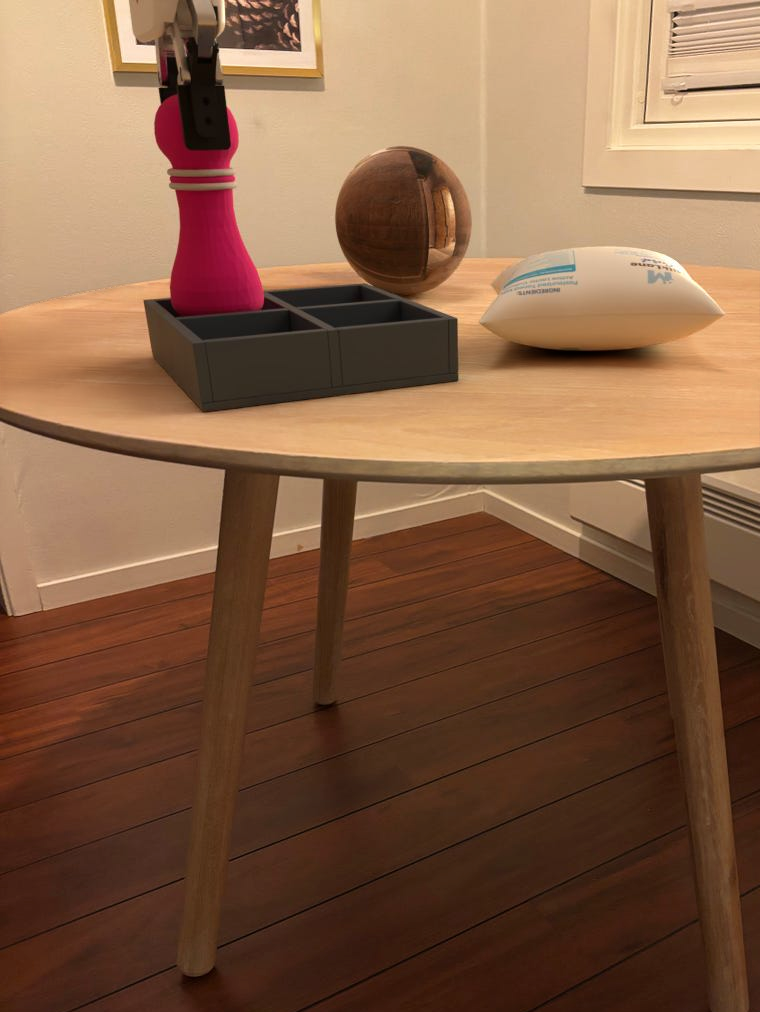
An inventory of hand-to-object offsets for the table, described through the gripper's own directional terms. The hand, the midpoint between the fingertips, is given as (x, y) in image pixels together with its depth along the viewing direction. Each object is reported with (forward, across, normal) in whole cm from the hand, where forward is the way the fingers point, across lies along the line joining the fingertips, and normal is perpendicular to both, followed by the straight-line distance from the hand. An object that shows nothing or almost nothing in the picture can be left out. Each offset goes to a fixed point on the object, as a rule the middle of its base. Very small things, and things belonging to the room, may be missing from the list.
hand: (197, 146), depth 70 cm
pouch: (+16, +8, +31) cm, 35 cm away
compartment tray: (+16, +5, +5) cm, 17 cm away
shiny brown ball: (+16, -25, +27) cm, 40 cm away
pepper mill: (+15, 0, 0) cm, 15 cm away
